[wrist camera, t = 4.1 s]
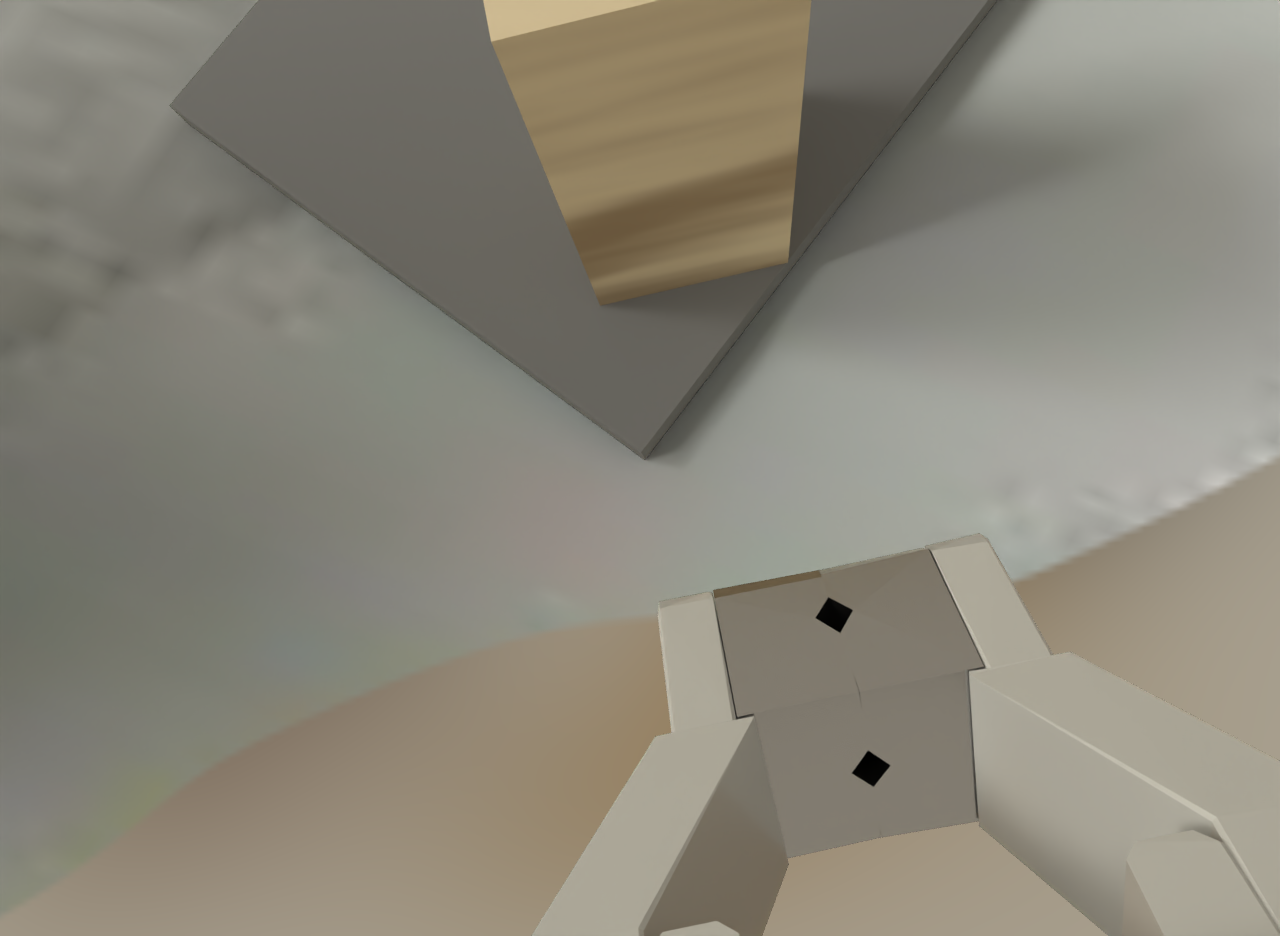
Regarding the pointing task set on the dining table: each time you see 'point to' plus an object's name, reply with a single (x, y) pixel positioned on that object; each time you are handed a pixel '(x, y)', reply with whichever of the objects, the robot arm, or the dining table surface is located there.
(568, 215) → the maple block
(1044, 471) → the dining table surface
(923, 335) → the dining table surface
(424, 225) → the rubber mat
